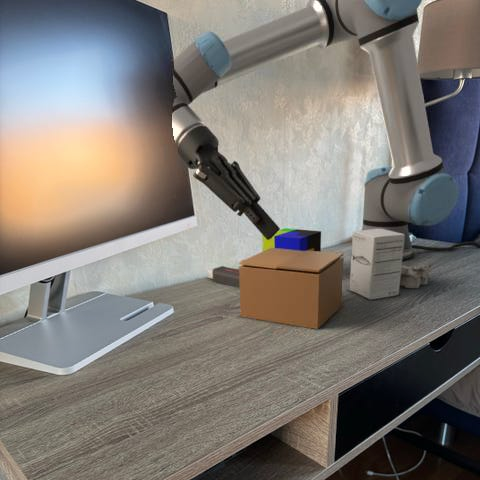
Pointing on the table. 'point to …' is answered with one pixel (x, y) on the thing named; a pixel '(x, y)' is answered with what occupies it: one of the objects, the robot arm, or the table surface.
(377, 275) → the white packaging box
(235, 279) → the usb drive
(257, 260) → the flap
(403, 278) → the egg carton
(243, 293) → the carton
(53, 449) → the table surface
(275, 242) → the puzzle toy
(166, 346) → the table surface
